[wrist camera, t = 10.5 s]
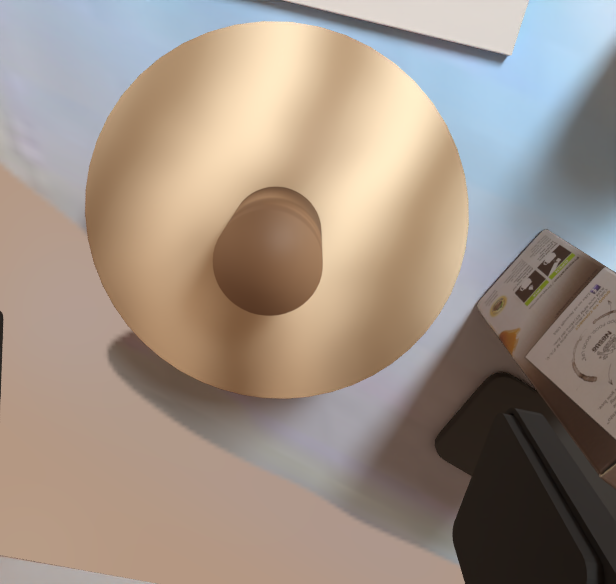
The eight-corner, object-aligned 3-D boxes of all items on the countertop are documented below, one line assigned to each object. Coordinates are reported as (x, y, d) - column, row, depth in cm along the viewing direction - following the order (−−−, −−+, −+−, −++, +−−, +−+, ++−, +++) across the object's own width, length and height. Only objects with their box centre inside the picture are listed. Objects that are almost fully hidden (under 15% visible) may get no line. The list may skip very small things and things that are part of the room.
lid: (517, 76, 24) (577, 74, 18) (405, 419, 29) (426, 494, 24) (111, -22, 23) (46, -56, 17) (77, 353, 28) (20, 416, 23)
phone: (596, 549, 41) (428, 452, 38) (590, 540, 41) (426, 444, 39) (672, 477, 38) (500, 369, 36) (664, 469, 39) (496, 362, 36)
